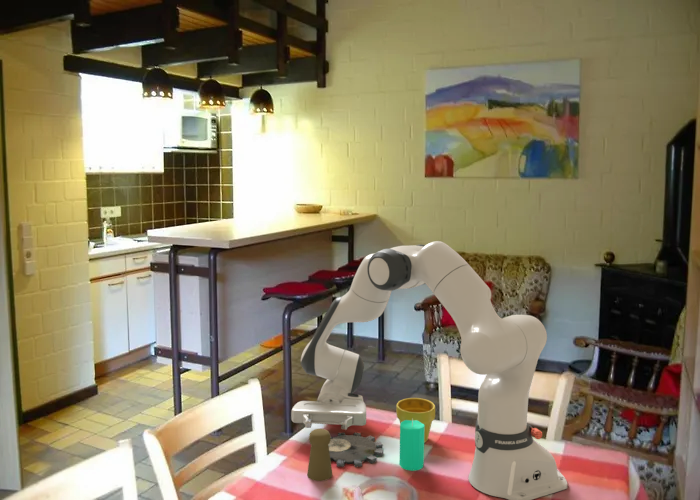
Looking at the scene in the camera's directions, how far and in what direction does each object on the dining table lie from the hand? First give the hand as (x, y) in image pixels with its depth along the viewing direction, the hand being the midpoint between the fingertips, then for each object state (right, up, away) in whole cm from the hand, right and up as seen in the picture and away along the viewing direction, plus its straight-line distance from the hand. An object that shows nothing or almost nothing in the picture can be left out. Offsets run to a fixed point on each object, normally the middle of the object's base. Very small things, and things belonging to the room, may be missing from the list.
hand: (325, 425), depth 155 cm
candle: (+21, -8, -6) cm, 24 cm away
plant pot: (+24, -6, +8) cm, 26 cm away
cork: (-1, -9, -11) cm, 14 cm away
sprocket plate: (+6, -7, +1) cm, 9 cm away
